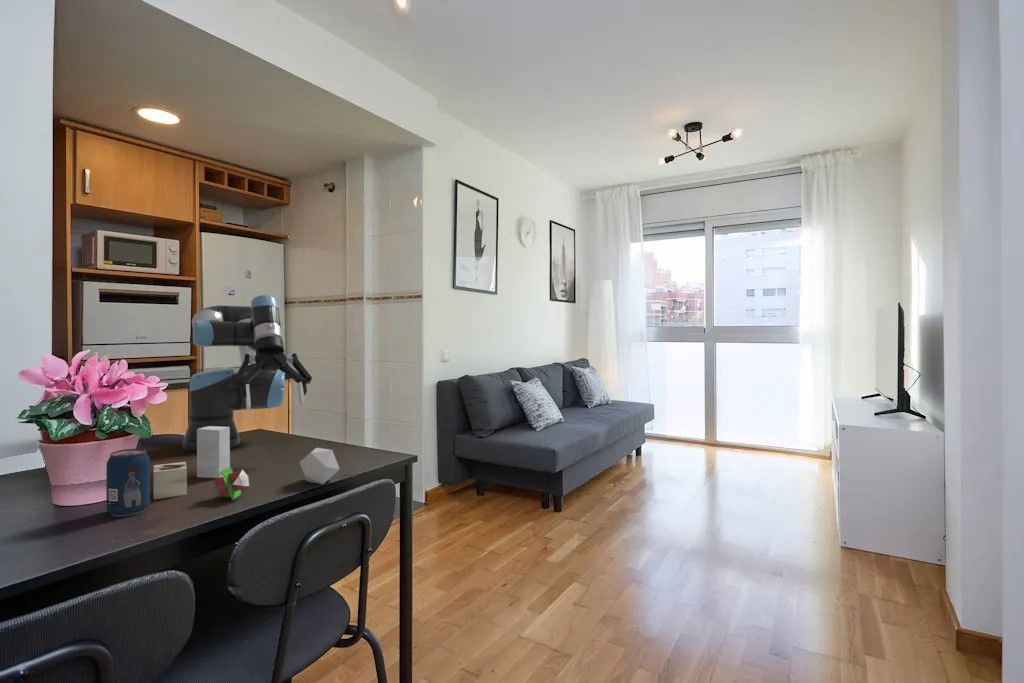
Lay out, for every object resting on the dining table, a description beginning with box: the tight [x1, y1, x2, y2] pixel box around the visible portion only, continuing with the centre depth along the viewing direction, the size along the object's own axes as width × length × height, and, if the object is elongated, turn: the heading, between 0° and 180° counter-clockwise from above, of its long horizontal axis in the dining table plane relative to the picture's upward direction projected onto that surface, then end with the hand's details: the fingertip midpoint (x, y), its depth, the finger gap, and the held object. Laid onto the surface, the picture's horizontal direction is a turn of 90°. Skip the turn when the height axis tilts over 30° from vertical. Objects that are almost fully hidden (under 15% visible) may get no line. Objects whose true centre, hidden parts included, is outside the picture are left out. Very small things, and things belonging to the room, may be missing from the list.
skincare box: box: [196, 426, 231, 479], centre depth 126 cm, size 6×4×12 cm
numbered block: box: [153, 461, 188, 500], centre depth 113 cm, size 6×6×6 cm
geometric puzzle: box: [212, 465, 251, 501], centre depth 111 cm, size 7×7×8 cm
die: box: [299, 447, 341, 485], centre depth 123 cm, size 8×9×10 cm
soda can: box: [105, 448, 151, 518], centre depth 102 cm, size 7×7×12 cm
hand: (276, 406), depth 140 cm, fingers open, 13 cm apart
